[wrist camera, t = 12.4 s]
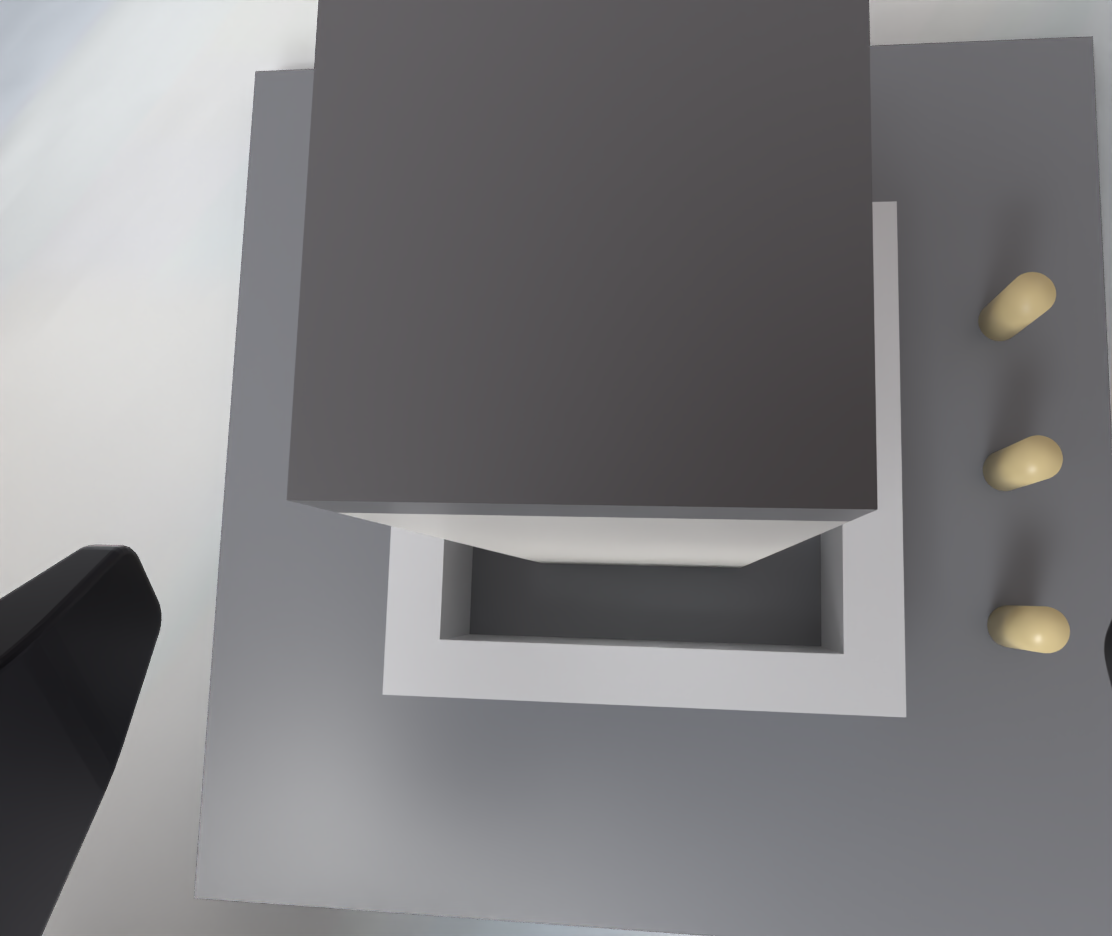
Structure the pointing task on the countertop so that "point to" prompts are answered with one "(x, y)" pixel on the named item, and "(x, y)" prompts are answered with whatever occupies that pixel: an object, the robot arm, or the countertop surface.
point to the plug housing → (590, 276)
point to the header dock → (717, 606)
